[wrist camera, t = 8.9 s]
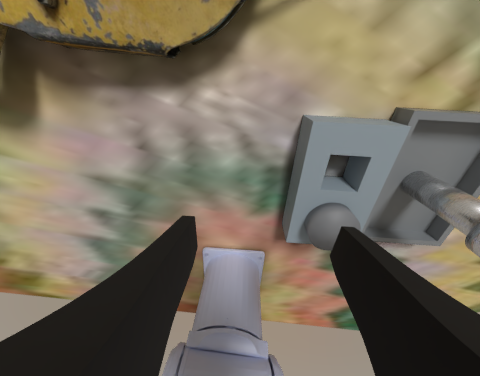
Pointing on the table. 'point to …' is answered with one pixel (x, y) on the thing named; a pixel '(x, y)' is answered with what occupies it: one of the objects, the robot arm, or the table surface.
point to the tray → (434, 163)
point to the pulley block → (119, 23)
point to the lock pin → (447, 204)
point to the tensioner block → (338, 188)
